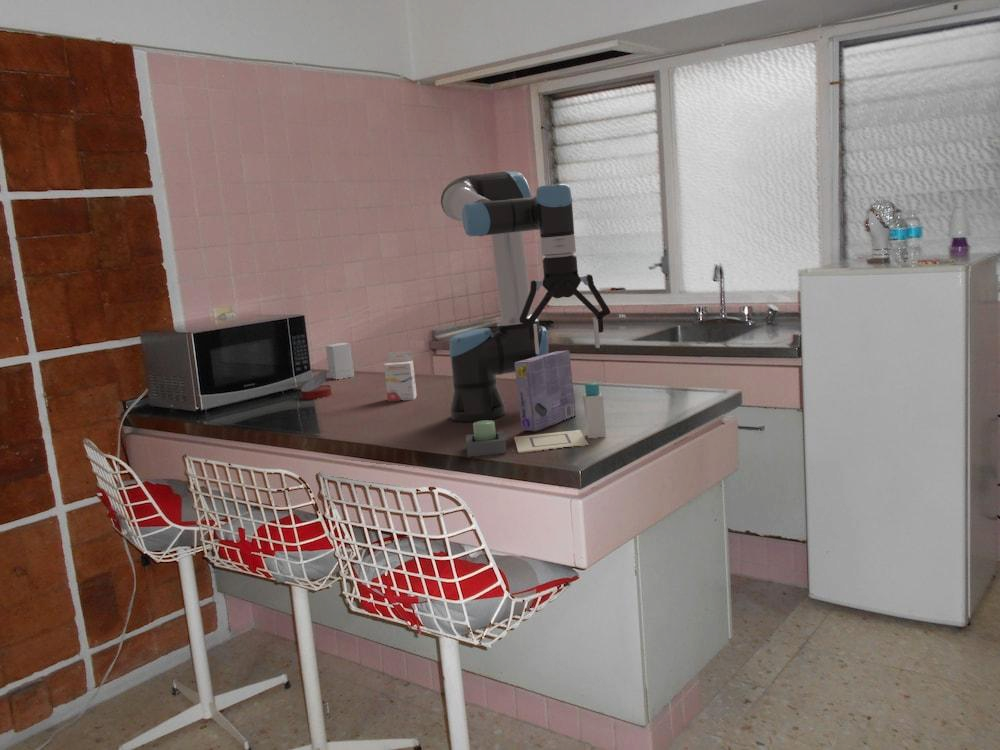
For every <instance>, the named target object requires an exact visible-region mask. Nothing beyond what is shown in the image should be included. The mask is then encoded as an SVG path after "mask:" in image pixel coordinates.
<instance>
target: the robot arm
mask: <svg viewBox="0 0 1000 750" xmlns="http://www.w3.org/2000/svg"><path fill="white" fill-rule="evenodd" d="M530 189H531V188H530V187H529V184H528V181H527V179H526V178H525V176H524V175H523V174H522V173H521V172H519V171H500V172H491V173H490V172H489V173H481V174H469V175H465V176H460V177H458V178H456V179H454V180H452V181H451V182H449V183H448V184H447V185H446V186H445V187H444V189H443V190H442V193H441V196H440V205H441V209H442V211H443V212H444V214H446V216H447V217H448V218H450V219H452V220H455V221H460V222H461V221H462V226H463V229H464V230H463V231H464V232H465V234H466V236H468V237H484V236H491V245H492V251H493V260H494V267H495V269H494V270H495V277H496V284H497V293H498V300H499V309H500V316H501V317H500V320H499V321H498V322H497V324H496V331H495V332H493V331H492V330H491V328H489V327H482V328H476V329H471V330H470V329H469V330H466V331H463V332H460V333H457V334H456V335H454V336H452V337H451V338H450V340H449V357H450V363H451V373H452V379H453V381H452V382H453V395H452V401H451V404H450V410H449V414H450V419H451V420H452V421H454V422H460V423H461V422H463V423H464V422H465V423H466V422H467V423H469V422H470V423H472V422H473V423H475V422H478V421H484V420H492V419H493V420H494V419H497V418H500V417H502V416H504V415H506V413H507V412H506V404H505V402H504V400H503V398H502V395H501V393H500V391H499V388H498V385H497V379H496V376H499V375H506V374H514V373H515V374H516V372H515V362H518V361H522V360H526V359H529V358H533V357H537V356H541V355H545V354H549V336H548V332H547V329H546V327H545V326H542V325H540V320H539V319H538V317H539V316H540V314H541V313H542V312H543V310H544V309H545V307H546V306H547V305H548V304H549V302H550V301H551V299H552V298H554V299H561V298H571V297H572V296H575V297H576V298H577V299H578V300H579V301H581V303H582V304H583V305H584V306H585V307H586V308H587V309H588V310H590V312H591V313H592V314H593V315H594V316H595V317H593V318H592V324H593V333H594V334H593V335H594V346H595V348H596V349H600V348H601V342H600V333H603V332H604V320H603V319H604V317H606V316H608V315H610V314H611V310H610V309H609V306H608V305H607V303H606V302H605V300H604V299H603V297H602V295H601V294H600V292H599V291H598V289H597V287H596V285H595V282H594V279H593V275H592V274H589V273H588V274H586V275H584V276H583V275H582V276H580V275H579V272H578V271H579V270H578V259H577V256H576V255H575V254H574V253H576V251H577V248H576V240H575V239H576V237H575V226H574V224H575V223H574V213H573V198H572V192H571V187H570V186H569V184H568V183H558V184H557V183H556V184H547V185H541V186H538V187H537V189H536V196H532V193H531V190H530ZM529 231H530V232H531V231H539V234H540V244H541V245H540V246H541V247H540V248H541V255H542V256H543V259H542V267H543V280H535V279H532V280H529V274H528V266H527V264H528V263H527V257H526V247H525V242H524V240H525V238H524V233H523V232H529ZM529 281H530V283H529ZM581 282H582V283H583V284H584V285H585V286H587V287H588V289H589V290H590V292H591V294H592V295H593V297H594V298H595V300H596V302H597V303H598V305H599V307H600V308H601V310H599V309H598V308H597V307H595V305H594V304H593V303H591V301H589V299H588V298H586V296H585V295H583V293H582V292H581V291H579V290H578V288H579V286H580V284H581ZM542 286H543V288H544V289H545V290H546V293H545V294H544V296H543V297H542V299H541V301H540V302H539V303H538V305H537V307H536V308H535V309H534V310H533V308H532V307H533V306H532V305H533V302H534V299H535V298H536V297H535V296H536V293H537V291H539V290H540V289H541V287H542Z"/></svg>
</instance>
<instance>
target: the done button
mask: <svg viewBox="0 0 1000 750" xmlns="http://www.w3.org/2000/svg"><path fill="white" fill-rule="evenodd" d="M472 427H473V434H474V439H475V442H478V441H487V440H496V432H497V431H496V423H495V420H492V419H489V420H483V421H474V422H473V423H472Z"/></svg>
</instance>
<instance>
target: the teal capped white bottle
mask: <svg viewBox="0 0 1000 750" xmlns="http://www.w3.org/2000/svg"><path fill="white" fill-rule="evenodd" d="M584 389H585V391H584V392H585V393H583V394H582V397H583V407H584V411H583V412H584V420H585V422H584V423H585V432H586V434H587V435H586V436H588V437H587V439H589V438H593V439H599V438H598V437H603V438H606V437H607V432H606V421H605V410H604V397H603V394H602V393H601V391H600V384H599V382H588V383H585V384H584ZM605 436H606V437H605Z"/></svg>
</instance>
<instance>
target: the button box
mask: <svg viewBox="0 0 1000 750" xmlns="http://www.w3.org/2000/svg"><path fill="white" fill-rule="evenodd" d="M495 432H496V440H487V441H478V442H475V439H474V433H473V434H465V446H466V455H467V458H471V456H474V457H481V456H480V455H483V456H489V455H491V454H492V455H499V454H507V453H508V450H507V440H506V436H505V432H504V430H501V431H500V430H499V431H495Z"/></svg>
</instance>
